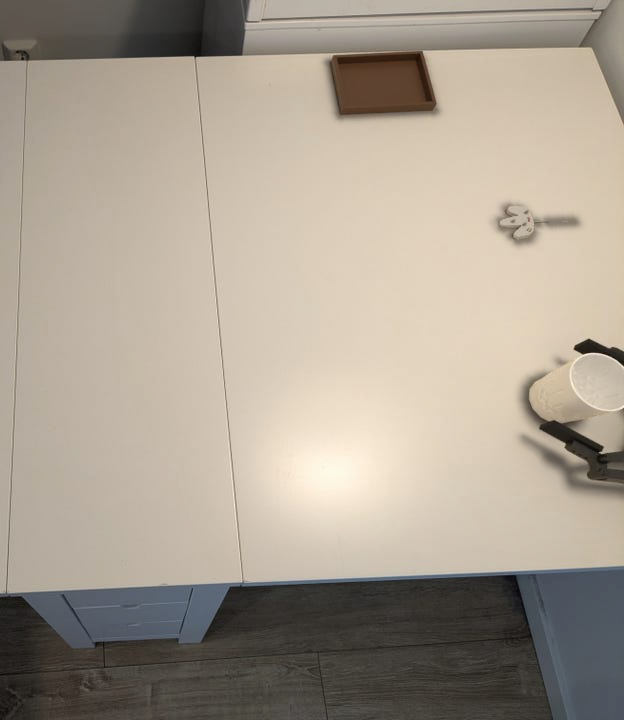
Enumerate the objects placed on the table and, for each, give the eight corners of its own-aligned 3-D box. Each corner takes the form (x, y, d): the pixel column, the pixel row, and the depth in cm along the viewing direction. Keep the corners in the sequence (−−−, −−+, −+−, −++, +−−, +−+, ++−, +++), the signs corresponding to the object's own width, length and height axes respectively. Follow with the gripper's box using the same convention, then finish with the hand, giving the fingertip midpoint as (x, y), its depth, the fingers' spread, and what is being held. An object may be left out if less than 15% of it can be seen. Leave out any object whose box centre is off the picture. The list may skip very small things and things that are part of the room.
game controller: (489, 216, 91) (498, 207, 89) (550, 196, 92) (561, 186, 90) (508, 245, 89) (518, 236, 87) (570, 224, 90) (582, 214, 88)
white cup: (590, 408, 80) (647, 389, 71) (551, 439, 79) (605, 423, 69) (547, 366, 82) (598, 341, 73) (510, 395, 81) (556, 374, 72)
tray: (329, 65, 103) (333, 54, 100) (417, 61, 102) (422, 50, 100) (339, 117, 99) (343, 108, 96) (430, 113, 98) (437, 103, 96)
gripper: (673, 554, 71) (513, 464, 76) (725, 397, 78) (575, 323, 82) (729, 554, 64) (550, 455, 69) (781, 381, 71) (614, 301, 75)
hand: (563, 383), depth 75 cm, fingers open, 13 cm apart
